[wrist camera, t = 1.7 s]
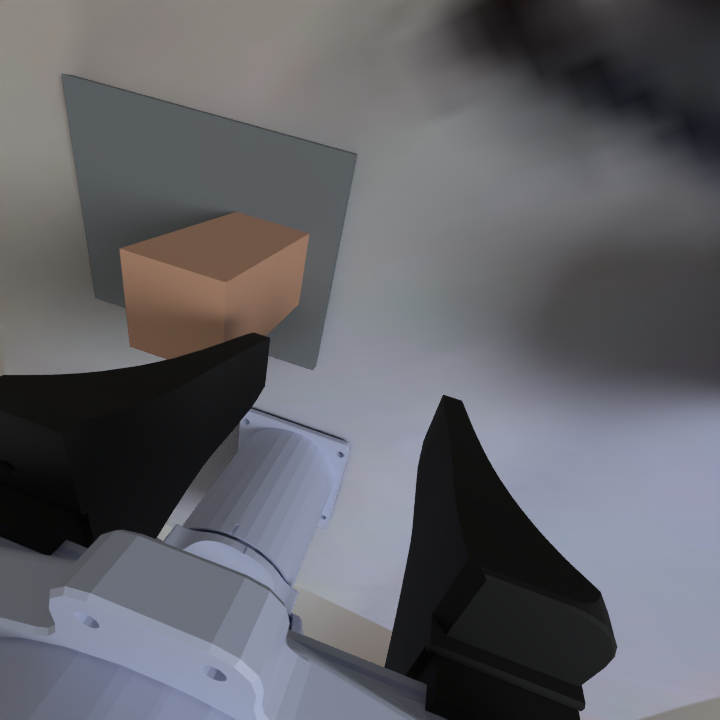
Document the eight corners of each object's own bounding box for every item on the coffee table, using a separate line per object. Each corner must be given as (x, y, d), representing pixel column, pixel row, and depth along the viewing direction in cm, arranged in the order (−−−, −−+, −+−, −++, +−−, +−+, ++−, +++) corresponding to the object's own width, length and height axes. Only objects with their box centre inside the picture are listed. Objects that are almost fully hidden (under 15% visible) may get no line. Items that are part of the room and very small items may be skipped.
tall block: (298, 304, 22) (222, 378, 15) (233, 283, 22) (129, 346, 16) (309, 233, 20) (225, 282, 13) (236, 211, 20) (119, 248, 13)
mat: (316, 365, 24) (312, 370, 24) (103, 294, 26) (95, 297, 25) (357, 154, 18) (353, 154, 18) (72, 75, 19) (61, 73, 19)
